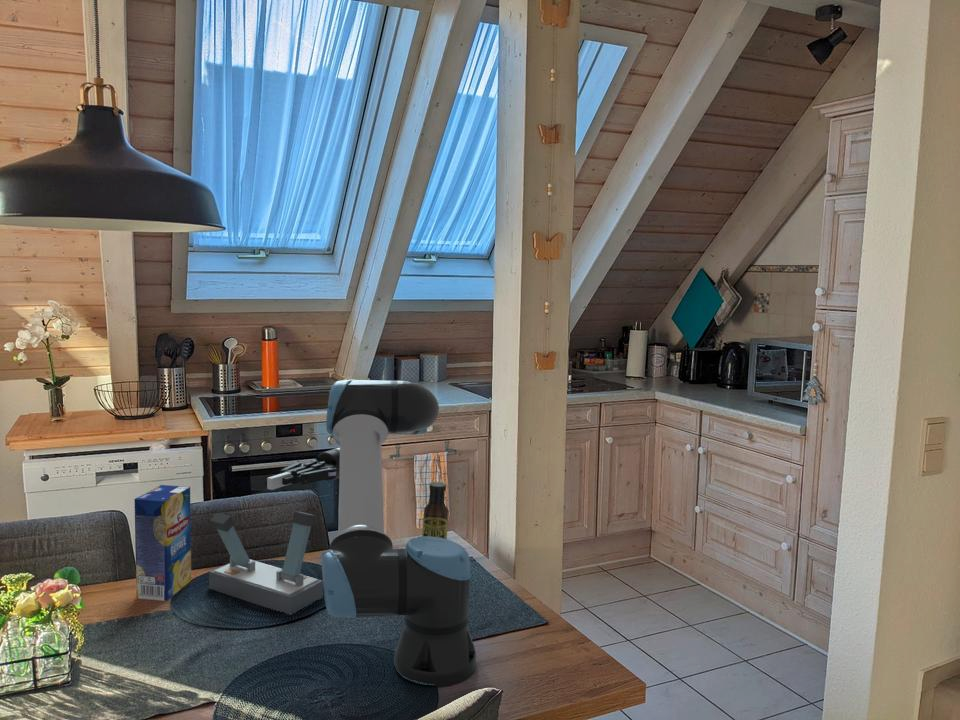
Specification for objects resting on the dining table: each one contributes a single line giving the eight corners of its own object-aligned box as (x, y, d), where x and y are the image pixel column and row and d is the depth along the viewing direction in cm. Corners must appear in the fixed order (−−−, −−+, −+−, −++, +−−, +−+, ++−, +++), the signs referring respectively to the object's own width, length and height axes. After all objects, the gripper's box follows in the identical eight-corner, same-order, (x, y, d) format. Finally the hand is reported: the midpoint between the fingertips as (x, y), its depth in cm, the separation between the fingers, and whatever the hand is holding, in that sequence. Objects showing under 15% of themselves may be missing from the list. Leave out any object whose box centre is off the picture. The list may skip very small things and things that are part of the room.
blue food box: (191, 580, 174) (190, 486, 172) (166, 601, 164) (164, 501, 161) (162, 578, 175) (161, 484, 172) (136, 598, 164) (134, 499, 162)
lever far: (253, 563, 172) (230, 516, 164) (246, 571, 170) (223, 523, 163) (240, 559, 174) (217, 512, 166) (233, 567, 172) (209, 520, 165)
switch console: (322, 598, 168) (323, 570, 167) (291, 615, 159) (291, 586, 158) (242, 573, 179) (242, 547, 178) (209, 588, 170) (209, 561, 170)
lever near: (299, 582, 165) (315, 515, 168) (292, 582, 163) (308, 514, 166) (285, 578, 167) (301, 512, 169) (278, 578, 165) (294, 511, 167)
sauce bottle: (419, 565, 188) (421, 486, 185) (422, 555, 194) (424, 479, 192) (445, 566, 188) (448, 488, 185) (447, 557, 194) (450, 480, 191)
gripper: (355, 481, 195) (290, 504, 175) (315, 474, 201) (248, 495, 181) (355, 453, 194) (291, 472, 174) (315, 446, 201) (249, 463, 180)
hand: (269, 483), depth 177 cm, fingers closed
